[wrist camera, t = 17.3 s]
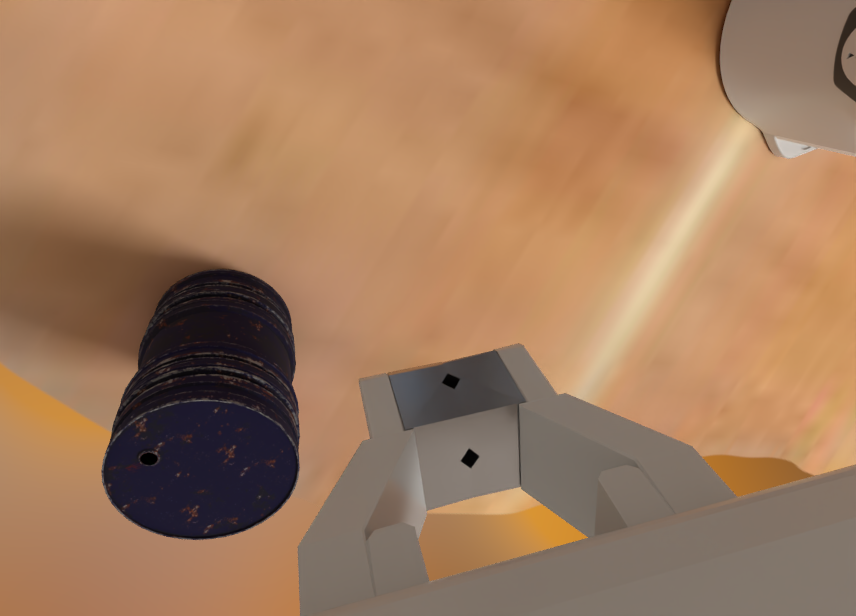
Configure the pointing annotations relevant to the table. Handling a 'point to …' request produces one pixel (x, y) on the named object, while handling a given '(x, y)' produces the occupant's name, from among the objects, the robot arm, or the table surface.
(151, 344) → the black ribbed barrel
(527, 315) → the table surface
